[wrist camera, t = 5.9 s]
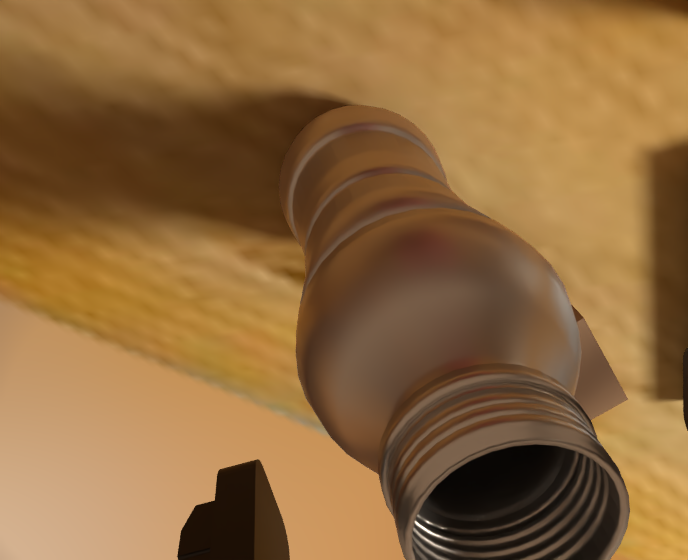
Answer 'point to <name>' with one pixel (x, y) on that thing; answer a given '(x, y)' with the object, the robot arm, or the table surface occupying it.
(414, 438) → the plastic bottle
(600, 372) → the walnut block
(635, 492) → the table surface
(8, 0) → the table surface
